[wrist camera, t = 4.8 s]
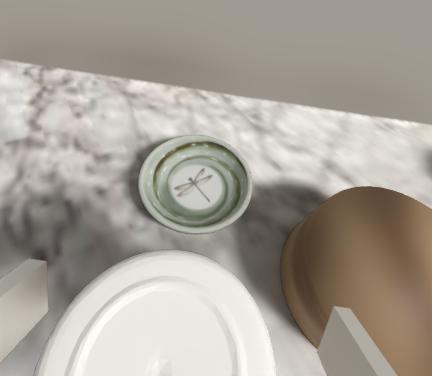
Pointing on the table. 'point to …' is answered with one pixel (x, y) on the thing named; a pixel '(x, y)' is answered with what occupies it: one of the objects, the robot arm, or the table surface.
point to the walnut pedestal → (366, 272)
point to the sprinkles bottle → (160, 323)
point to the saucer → (195, 184)
